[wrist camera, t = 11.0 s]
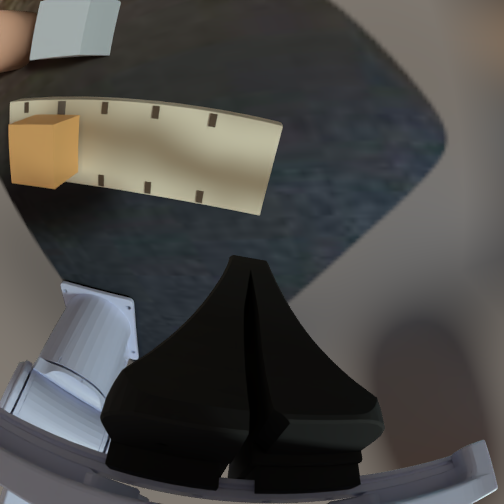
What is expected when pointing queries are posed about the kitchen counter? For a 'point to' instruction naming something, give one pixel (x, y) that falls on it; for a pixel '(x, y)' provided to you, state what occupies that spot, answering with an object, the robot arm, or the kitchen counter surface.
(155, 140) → the counting board
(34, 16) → the tan rounded cylinder
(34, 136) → the tan square block
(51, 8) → the grey block
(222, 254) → the kitchen counter surface
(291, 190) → the kitchen counter surface
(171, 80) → the kitchen counter surface
